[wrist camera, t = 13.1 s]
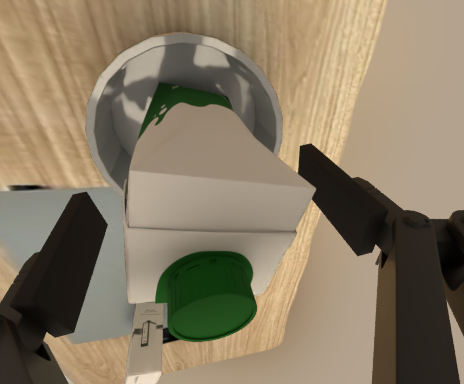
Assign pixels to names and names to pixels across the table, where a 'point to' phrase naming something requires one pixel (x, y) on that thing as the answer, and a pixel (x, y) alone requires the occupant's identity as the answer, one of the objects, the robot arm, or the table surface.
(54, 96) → the table surface
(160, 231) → the soya milk
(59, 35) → the table surface
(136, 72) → the steel tub
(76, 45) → the table surface
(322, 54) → the table surface
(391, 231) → the robot arm
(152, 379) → the ink box
